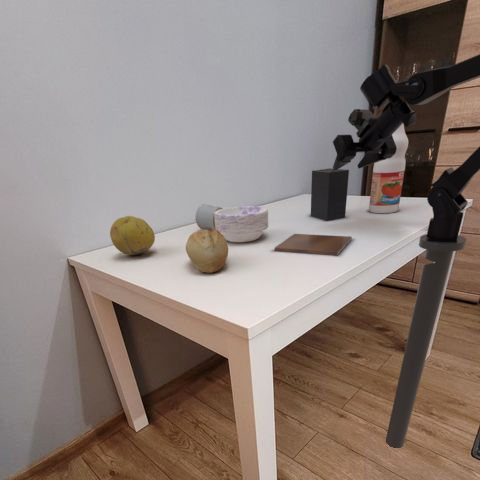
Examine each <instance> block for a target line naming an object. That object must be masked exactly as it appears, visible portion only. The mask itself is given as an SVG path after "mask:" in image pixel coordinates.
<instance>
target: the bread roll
mask: <svg viewBox="0 0 480 480" xmlns="http://www.w3.org/2000/svg"><path fill="white" fill-rule="evenodd" d="M185 251H186V254H187V256H188V258H189V260H190V262H191V263H192V265H194V267H196V269H198V270H199V271H200V272H203V273H207V274H208V273H215V272H217V271H220V270H221V269H222V268H223V267H224V266H225V263H226V262H227V259H228V256H229V245H228V241H227V240H226V239H225V238H224V236H223V234H222V232H219V231H218V230H216V229H212V228H211V229H210V230H206V229H200V230H197V231H194V232H192V233H191V234H190V235H189V236H188V238H187V241H186V244H185Z"/></svg>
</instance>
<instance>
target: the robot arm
mask: <svg viewBox="0 0 480 480" xmlns="http://www.w3.org/2000/svg"><path fill="white" fill-rule="evenodd" d="M479 78H480V53H479V54H476V55H474V56H472V57H470V58H469V57H468V58H467V59H464V60H462V61H459V62H457V63H454V64H452V65H448V66H443V67H437V68H431V69H427V70H422V71H418V72H416V73H414V74H412V75H411V76H409V78H408V80H404V81H397V80H396V78H395V77H394V75H393V73H392V71H391V69H390V67H389V65H388V64H382V65H381V66H380V67H379V68H378V69H376V70H375V71H373V72H372V73H371V74H370V75H368V76H366V78H365V80H364V81H363V82H362V84H361V85H360V87H359V90H360V92H361V93H362V95H363V96H364V98H365V100H366V101H367V103H368V105H369V106H370V107H371V109H372V110H377V109H378V110H381V111H380V113H379V114H378V115H377V116H376V115H375V114H374V113H373V112H372V111H371V110H369V109H360V108H355V109H353V110H352V111H351V113H350V114H349V116H348V118H347V121H348V123H349V124H350V125H351V126H352V127H354V128H355V129H356V130H357V132H356V133H355V134H356V137H357V138H358V141H354V138H353V135H352V134H337V135H336V136H335V138H334V139H333V140H332V144H333V147H334V150H335V152H336V157H335V158H334V163H333V165H332V168H333V170H337V169H342V167H344V166H346V165H349V163H351V162H352V160H353V159H354V158H356V157H357V154H362V153H364V154H365V155H364V156H363V157H362V158H361V160H360V161H359V162H358V163H357V169H362V168H365V167H367V166H368V167H369V166H370V165H374V163H376V162H379V161H382V160H386V159H387V158H391V157H392V156H393V155H394V154H395V153H396V149H397V147H396V144H395V142H394V139H393V136H392V134H393V133H394V132H395V131H396V130H397V129H398V128H399V127H400V126H401V125H402V124H404V128H408V127H411V126H412V125H414V124H416V123H417V113H418V111H417V110H412V108H411V107H410V106H421V105H426V104H428V103H430V102H431V101H434V100H435V99H437V98H439V97H441V96H442V95H444V94H445V93H447V92H449V91H450V90H452V89H454V88H455V87H458V86H460V85H463V84H466V83H469V82H471V81H474V80H477V79H479ZM401 97H402V98H403V99H404V100H402V99H401ZM479 172H480V146H478V147H477V148H476V150H474V151H473V152H472V154H471V155H470V156H468V157H467V159H466V160H465V161H464V162H462V164H461V165H459V166H458V167H457V168H456V169H454V168H453V166H451V167H449V168H447V169H444V170H443V172H442V173H441V174H440V176H439V178H438V179H437V180H436V181H435V182H433V183H430V187H431V188H430V189H429V190H428V193H427V196H426V198H427V199H426V201H427V203H428V205H429V206H430V208H432V213H433V214H432V215H433V217H431V218H430V219H429V223H428V227H427V231H426V232H427V233H426V234H427V237H428V241H435V242H457V241H458V235H459V233H460V229H461V225H462V221H463V218H464V212H463V211H464V210H465V208H466V207H467V205H468V204H469V202H468V200H467V199H466V198H465V197H464V195H463V194H462V193H463V192H464V190H465V189H466V188H467V186H468V185H469V183H470V182H471V181H472V179H473V178H474V177H475V176H476V174H477V173H479Z"/></svg>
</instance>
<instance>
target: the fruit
mask: <svg viewBox="0 0 480 480" xmlns="http://www.w3.org/2000/svg"><path fill="white" fill-rule="evenodd" d="M109 237H110V240H111V243H112V244H113V246H114V247H115V249H116V250H118V251H119V252H121V253H122V254H124V255H127V256H139V255H141V254H143V253H145V252H147V251H148V250H150V249H151V248H152V246H153V245H154V244H155V240H156V235H155V232H154V230H153V228H152V227H151V226H150V225H149V224H148V222H147V221H146V220H144V219H142V218H140V217H136V216H132V215H125V216H122V217H119V218H117V219H116V220H115V221H113V223H112V225H111V226H110V230H109Z"/></svg>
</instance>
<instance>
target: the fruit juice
mask: <svg viewBox="0 0 480 480" xmlns="http://www.w3.org/2000/svg"><path fill="white" fill-rule="evenodd" d="M392 136H393V139H394V142H395V144H396V147H397V149H396V153H395V154H394V155H393V156H392V157H391V158H387V159H386V160H382V161H379V162H376V163H373V168H372V169H373V170H372V178H371V179H372V180H371V185H370V186H371V187H370V188H371V189H370V195H369V205H368V211H369V212H370V213H374V214H391V213H396V212H398V210H399V208H400V202H401V196H402V190H403V183H404V177H405V171H406V162H407V161H406V160H407V159H406V153H407V150H408V148H409V138H408V136H407V134H406V131H405V125H404V124H402V125H401V126H400V127H399V128H398V129H397V130H396V131H395V132H394V133H393V134H392Z"/></svg>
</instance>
